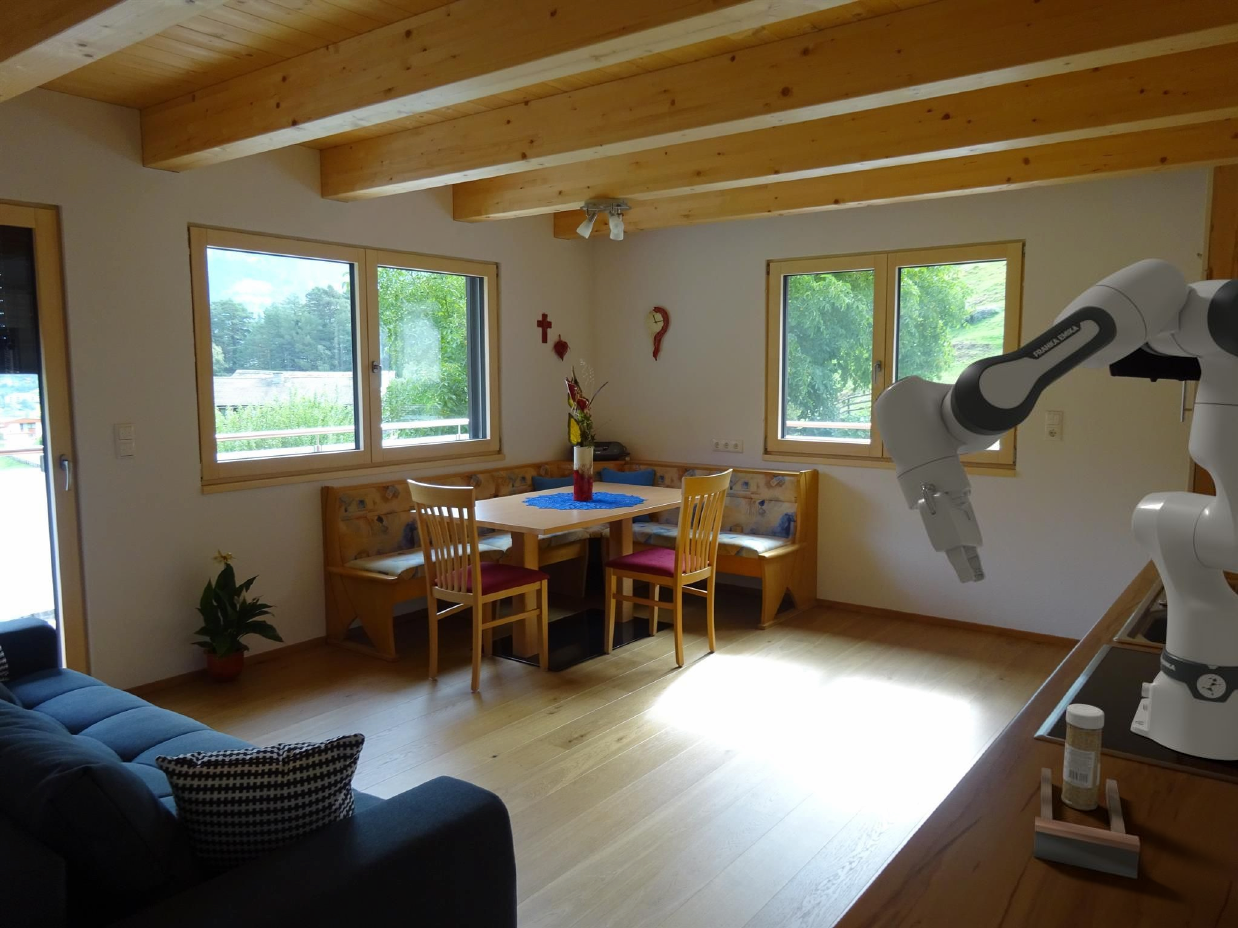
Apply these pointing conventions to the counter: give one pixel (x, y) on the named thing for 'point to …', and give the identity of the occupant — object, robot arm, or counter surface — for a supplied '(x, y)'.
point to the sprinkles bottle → (1082, 756)
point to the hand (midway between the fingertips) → (974, 581)
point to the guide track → (1086, 837)
